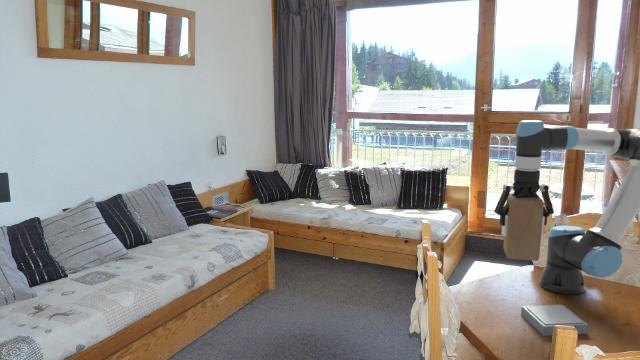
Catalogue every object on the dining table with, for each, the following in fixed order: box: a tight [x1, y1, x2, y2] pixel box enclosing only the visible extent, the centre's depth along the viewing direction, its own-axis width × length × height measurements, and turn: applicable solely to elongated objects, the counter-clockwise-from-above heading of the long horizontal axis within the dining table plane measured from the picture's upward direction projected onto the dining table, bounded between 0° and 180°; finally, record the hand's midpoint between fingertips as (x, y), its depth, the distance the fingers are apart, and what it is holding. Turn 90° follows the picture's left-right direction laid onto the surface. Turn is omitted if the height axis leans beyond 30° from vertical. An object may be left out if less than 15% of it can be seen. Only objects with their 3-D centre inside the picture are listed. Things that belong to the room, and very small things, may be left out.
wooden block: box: [503, 192, 545, 262], centre depth 161 cm, size 10×10×20 cm
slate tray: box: [520, 304, 589, 337], centre depth 156 cm, size 14×14×3 cm
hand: (522, 234), depth 161 cm, fingers closed on wooden block, 11 cm apart
